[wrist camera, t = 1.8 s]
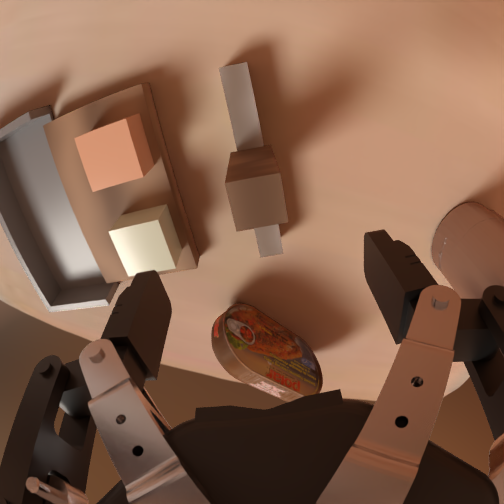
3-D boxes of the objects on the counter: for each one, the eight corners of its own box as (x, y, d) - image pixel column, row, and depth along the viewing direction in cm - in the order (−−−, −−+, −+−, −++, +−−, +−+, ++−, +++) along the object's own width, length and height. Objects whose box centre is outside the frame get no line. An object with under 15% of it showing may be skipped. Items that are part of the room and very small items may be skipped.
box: (49, 105, 22) (28, 111, 19) (119, 284, 32) (109, 305, 29) (-7, 139, 22) (-28, 149, 20) (61, 293, 33) (49, 312, 30)
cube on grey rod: (253, 62, 21) (257, 53, 13) (285, 235, 30) (300, 306, 21) (215, 70, 22) (196, 65, 13) (254, 241, 30) (257, 313, 21)
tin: (319, 349, 38) (330, 404, 31) (300, 361, 40) (308, 415, 32) (228, 288, 33) (224, 350, 26) (210, 305, 34) (202, 365, 27)
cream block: (166, 204, 25) (157, 219, 23) (182, 249, 28) (176, 268, 25) (120, 215, 26) (108, 231, 23) (138, 257, 28) (128, 276, 26)
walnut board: (148, 82, 22) (141, 83, 20) (199, 256, 31) (197, 268, 29) (54, 121, 23) (42, 125, 21) (112, 272, 31) (106, 283, 30)
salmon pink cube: (139, 112, 21) (125, 118, 19) (154, 165, 24) (143, 177, 21) (91, 130, 22) (74, 138, 19) (107, 179, 24) (92, 192, 21)
